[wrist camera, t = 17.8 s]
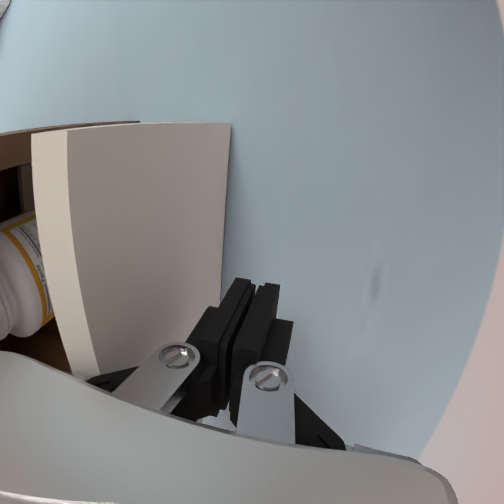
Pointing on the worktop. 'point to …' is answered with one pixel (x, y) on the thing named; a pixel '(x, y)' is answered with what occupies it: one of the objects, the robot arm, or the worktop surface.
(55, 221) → the drawer
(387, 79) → the worktop surface
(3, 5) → the white cup
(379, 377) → the worktop surface
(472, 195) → the worktop surface
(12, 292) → the supplement bottle
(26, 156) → the cabinet
